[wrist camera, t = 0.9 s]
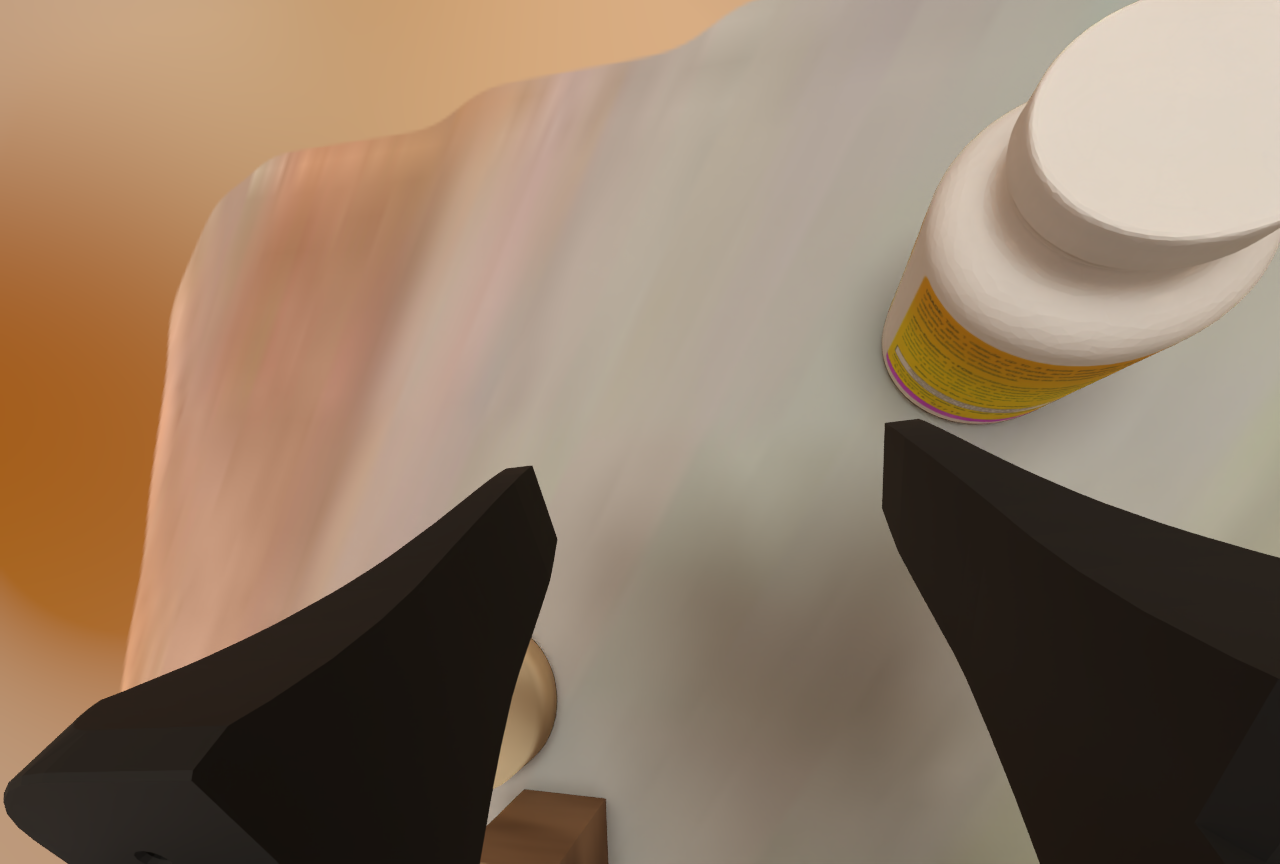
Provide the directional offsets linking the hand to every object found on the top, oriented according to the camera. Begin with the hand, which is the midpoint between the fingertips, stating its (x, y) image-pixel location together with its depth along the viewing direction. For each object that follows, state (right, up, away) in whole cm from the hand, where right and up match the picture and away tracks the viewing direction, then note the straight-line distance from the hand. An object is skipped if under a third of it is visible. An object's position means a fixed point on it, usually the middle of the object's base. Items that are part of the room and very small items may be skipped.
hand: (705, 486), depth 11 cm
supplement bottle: (+12, +5, +10) cm, 16 cm away
